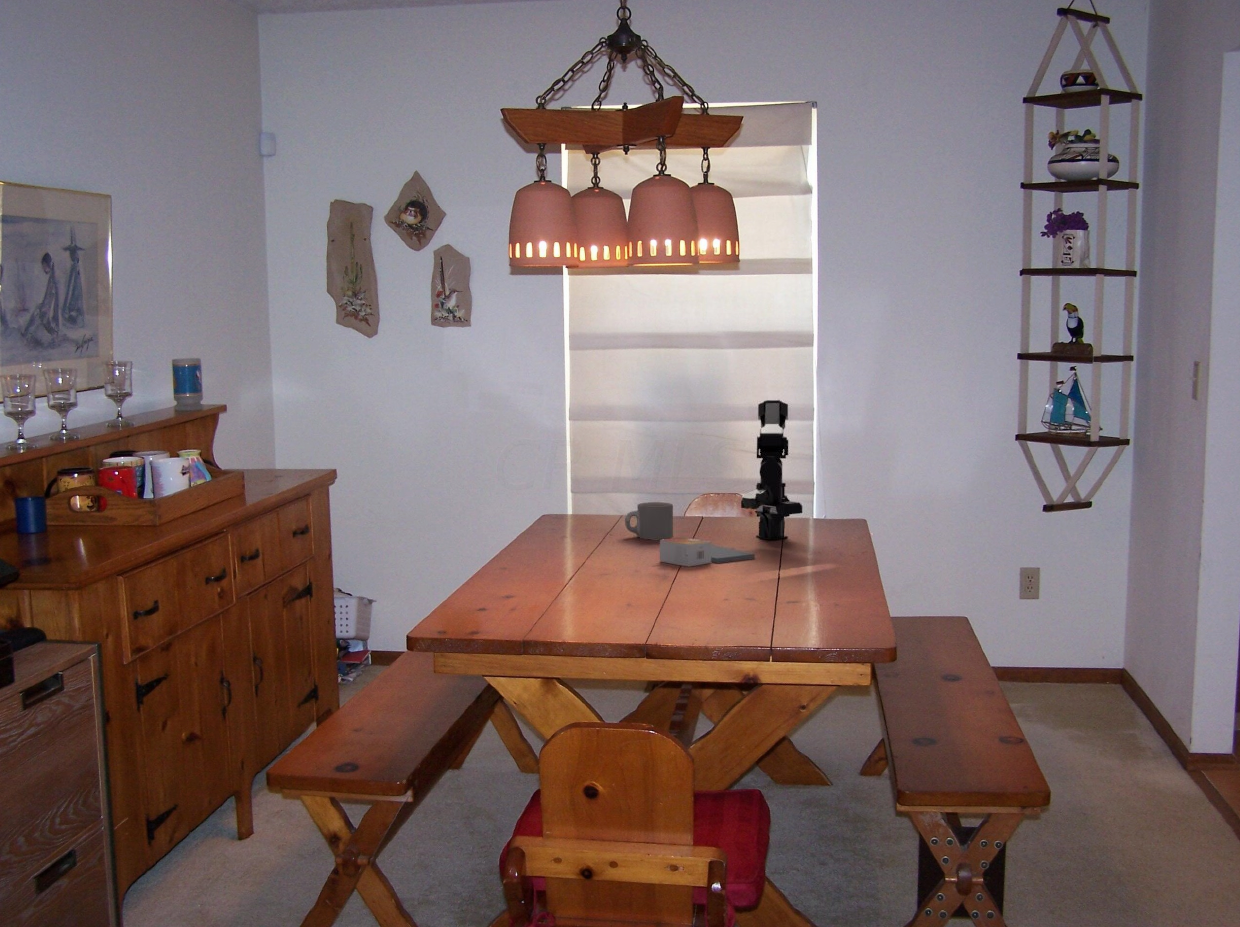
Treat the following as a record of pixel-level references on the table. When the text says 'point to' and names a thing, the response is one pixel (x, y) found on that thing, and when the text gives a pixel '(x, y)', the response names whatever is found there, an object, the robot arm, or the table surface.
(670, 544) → the small box
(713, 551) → the mat
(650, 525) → the coffee mug
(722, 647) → the table surface
